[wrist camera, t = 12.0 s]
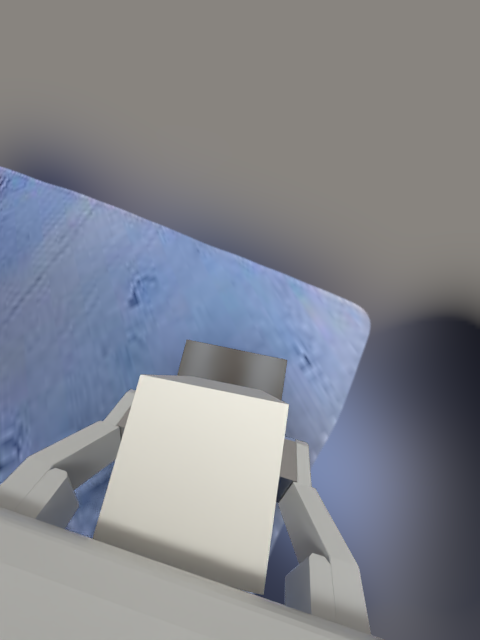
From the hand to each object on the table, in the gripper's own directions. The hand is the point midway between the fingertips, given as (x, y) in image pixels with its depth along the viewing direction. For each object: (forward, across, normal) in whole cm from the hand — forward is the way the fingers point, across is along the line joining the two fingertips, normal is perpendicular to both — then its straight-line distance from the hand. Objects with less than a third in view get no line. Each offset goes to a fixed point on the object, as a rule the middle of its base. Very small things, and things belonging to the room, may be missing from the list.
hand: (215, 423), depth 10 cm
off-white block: (+3, 0, +4) cm, 4 cm away
